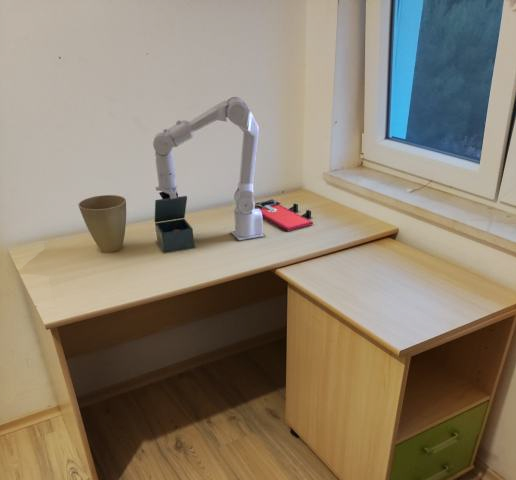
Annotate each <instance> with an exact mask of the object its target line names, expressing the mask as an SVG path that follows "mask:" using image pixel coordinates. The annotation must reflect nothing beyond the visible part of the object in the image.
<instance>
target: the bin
mask: <svg viewBox="0 0 516 480" xmlns="http://www.w3.org/2000/svg"><path fill="white" fill-rule="evenodd" d="M154 226H155V227H154V228H155V234H156V242H157V244H158V245H159V246H160V248H161V250H162V251H163V253H164V254H165V253H170V252H176V251H181V250H187V249H193V248H195V239H194V229H193V227H192V225H190V224H189V223H188V221H187V220H186V218H182V219H176V220H169V221H162V222H154ZM177 229H178V230H177ZM174 230H177V231H174Z"/></svg>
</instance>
